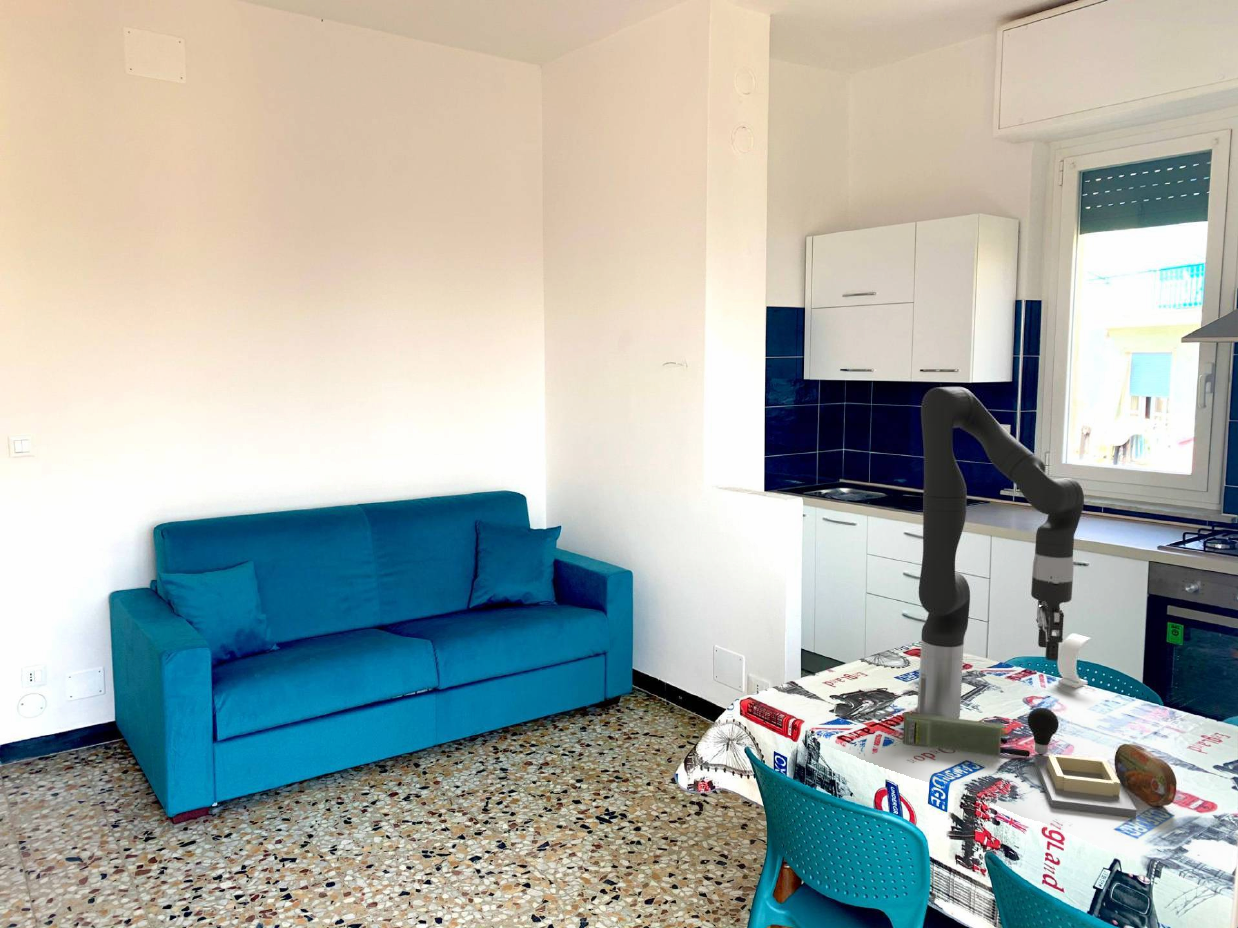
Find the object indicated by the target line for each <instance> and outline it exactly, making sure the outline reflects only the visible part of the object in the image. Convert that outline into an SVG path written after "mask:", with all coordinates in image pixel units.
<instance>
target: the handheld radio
mask: <svg viewBox="0 0 1238 928" xmlns="http://www.w3.org/2000/svg"><path fill="white" fill-rule="evenodd" d="M1007 728H1008V725H1007V724H1005V723H1004V724H1003V723H998V722H996V723H995V722H988V721H980V720H979V721H978V720H970V719H962V718H957V719H956V718H948V717H940V716H931V715H923V714H918V713H913V712H908V711H907V712H904V713H903V731H902V732H903V734H902V737H903V738H902V743H903V744H905V745H913V746H920V747H926V748H933V749H940V750H941V749H942V750H948V751H954V752H963V753H971V754H978V755H985V756H992V757H1000V756H1001V754H1007V755H1011V756H1018V757H1026V758H1029V757H1030V755H1031V751H1030V750H1028V749H1022V748H1021V749H1019V748H1013V747H1012V748H1011V747H1009V748H1006V747H1004V746H1001V745H1006V744H1007V743H1008V739H1007V738H1005V737H1002V735H1007V730H1006V729H1007Z"/></svg>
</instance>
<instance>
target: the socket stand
mask: <svg viewBox="0 0 1238 928" xmlns="http://www.w3.org/2000/svg"><path fill="white" fill-rule="evenodd" d="M1033 756H1034V757H1033V763H1034V766H1035V768H1036V771H1037V774H1038V776H1039V779H1040V781H1041V783H1042V785H1043V790H1044V791H1045V794H1046V796H1047V799H1048V801H1049V805H1050V806H1051V809H1060V810H1069V811H1075V812H1076V811H1077V812H1085V813H1086V812H1087V813H1092V814H1093V813H1094V814H1101V815H1110V816H1117V817H1126V818H1137V807H1136V806H1135V804H1134V803H1133V801H1132V799H1131V797H1130V796H1129V794H1128V793H1127V791H1126V789H1125V787H1124V786H1123V785H1122V784H1121V782H1120V780H1119V779H1118V777H1117V774H1116V771H1115V769H1114V768H1113V767H1112V765H1111V763H1110V762H1109V760H1107V759H1106V757H1105V758H1104V757H1096V756H1095V757H1094V756H1088V757H1086V756H1085V757H1084V756H1083V757H1082V756H1075V755H1074V756H1073V755H1065V754H1059V753H1058V754H1057V753H1056V754H1048V755H1039V754H1034V755H1033Z"/></svg>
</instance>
